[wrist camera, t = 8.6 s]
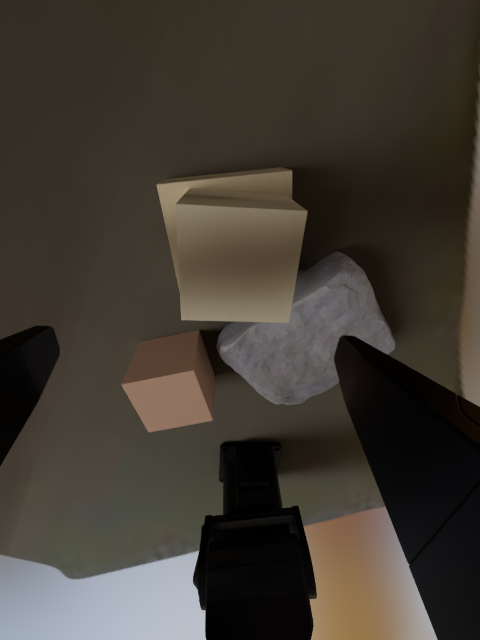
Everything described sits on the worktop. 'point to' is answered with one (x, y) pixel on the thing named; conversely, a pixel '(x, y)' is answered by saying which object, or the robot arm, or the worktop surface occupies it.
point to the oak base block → (233, 181)
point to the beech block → (238, 255)
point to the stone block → (307, 333)
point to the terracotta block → (171, 382)
